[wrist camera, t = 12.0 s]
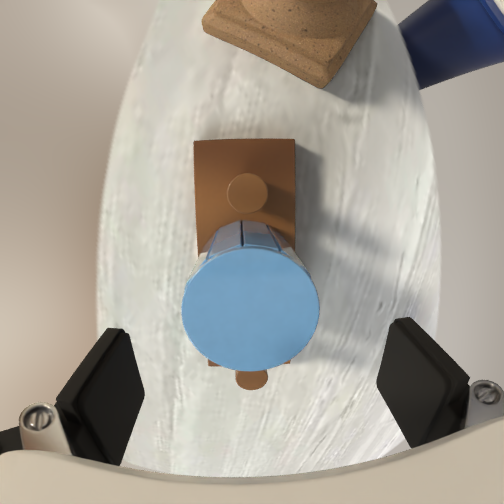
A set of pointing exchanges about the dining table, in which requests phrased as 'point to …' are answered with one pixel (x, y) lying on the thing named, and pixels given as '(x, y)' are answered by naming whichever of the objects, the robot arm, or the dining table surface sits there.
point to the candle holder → (293, 32)
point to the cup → (249, 299)
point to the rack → (245, 197)
